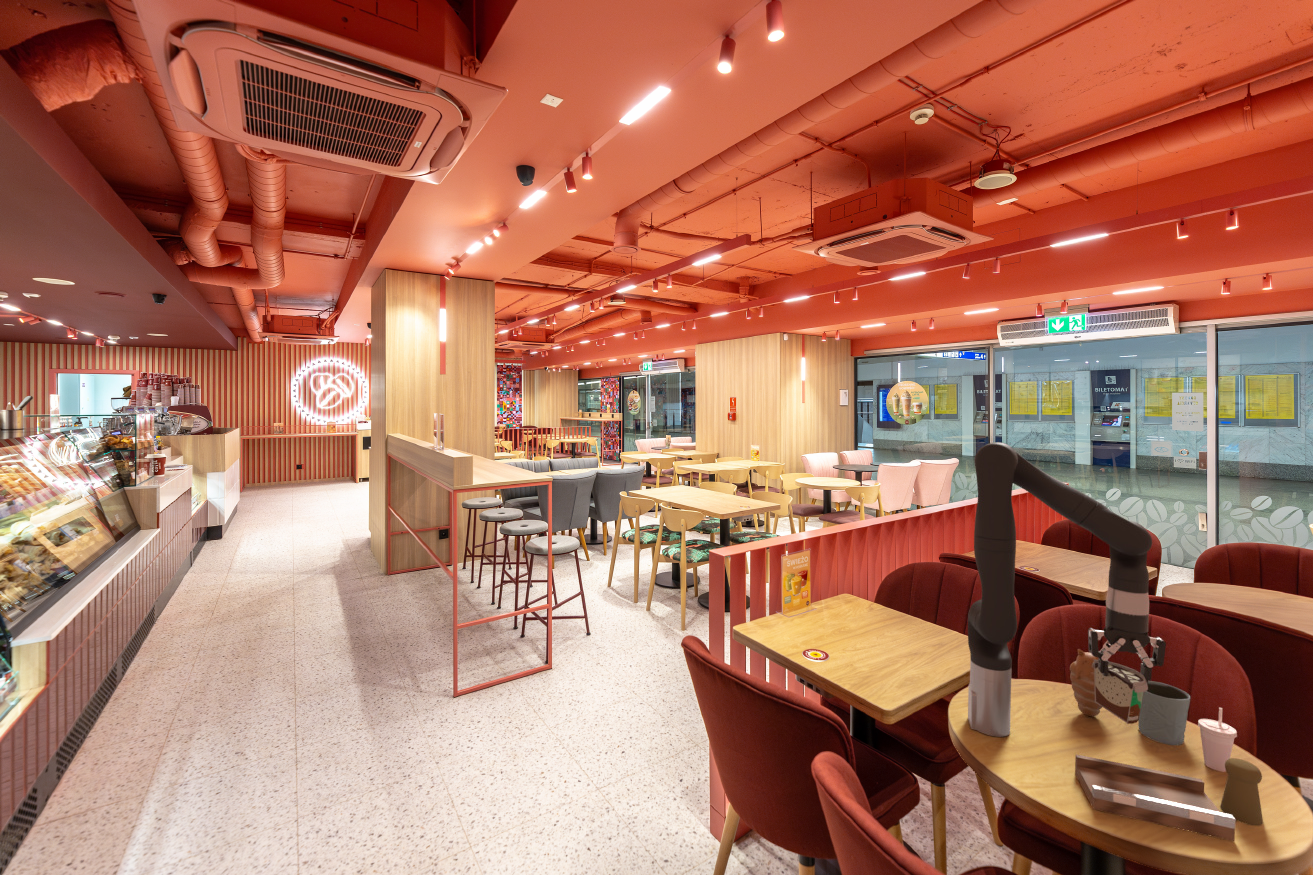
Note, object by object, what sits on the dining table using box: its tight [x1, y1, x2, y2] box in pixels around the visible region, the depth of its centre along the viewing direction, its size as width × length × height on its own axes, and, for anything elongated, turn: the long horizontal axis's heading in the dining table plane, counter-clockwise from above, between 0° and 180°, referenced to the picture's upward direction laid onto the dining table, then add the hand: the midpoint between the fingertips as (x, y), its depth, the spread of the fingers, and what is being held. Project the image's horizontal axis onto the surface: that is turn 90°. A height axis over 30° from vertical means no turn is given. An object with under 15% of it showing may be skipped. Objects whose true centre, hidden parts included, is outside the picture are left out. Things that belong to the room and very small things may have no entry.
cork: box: [1219, 757, 1264, 827], centre depth 112 cm, size 6×6×11 cm
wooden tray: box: [1074, 754, 1236, 842], centre depth 115 cm, size 22×13×4 cm, turn 67°
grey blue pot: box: [1137, 680, 1191, 746], centre depth 139 cm, size 10×10×12 cm
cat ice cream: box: [1069, 648, 1103, 717], centre depth 149 cm, size 9×8×18 cm
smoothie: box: [1197, 707, 1238, 773], centre depth 127 cm, size 6×6×14 cm
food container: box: [1092, 660, 1148, 725], centre depth 127 cm, size 12×6×10 cm, turn 179°
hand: (1124, 677), depth 127 cm, fingers closed on food container, 7 cm apart
